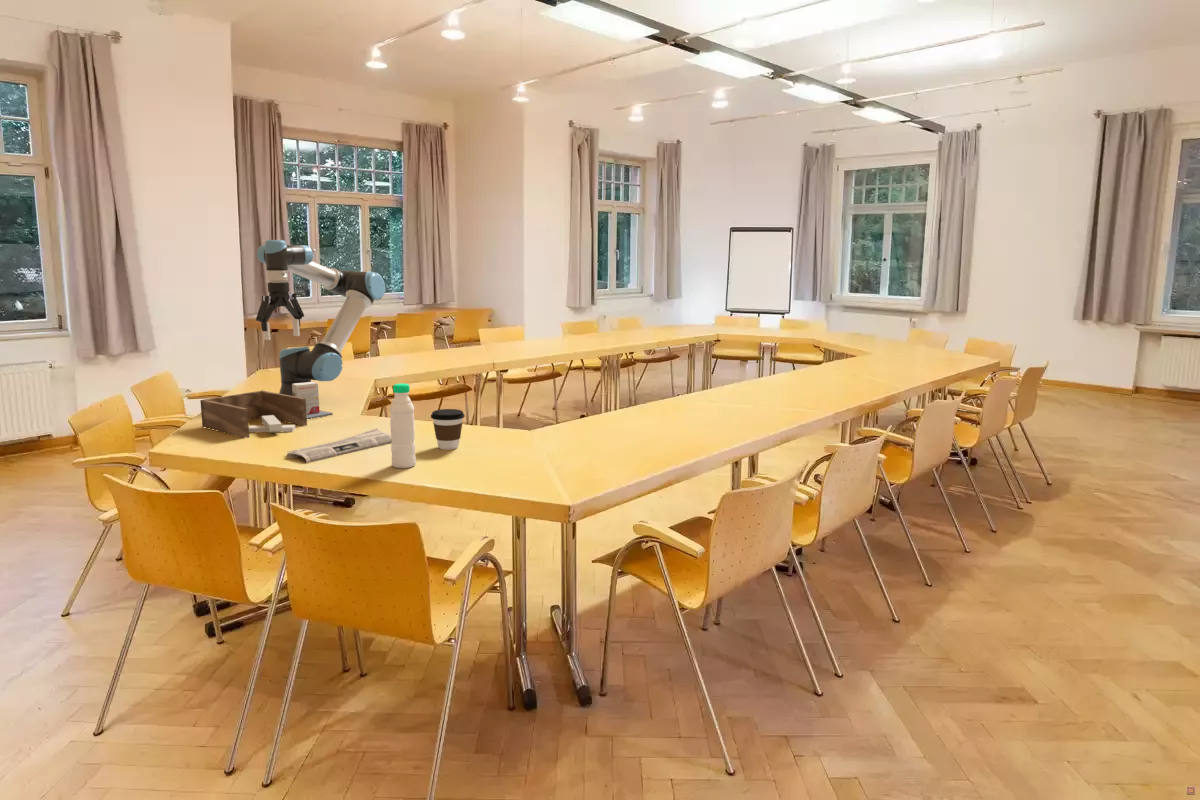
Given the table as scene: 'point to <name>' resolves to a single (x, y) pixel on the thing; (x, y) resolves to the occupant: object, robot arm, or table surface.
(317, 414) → the grey mat
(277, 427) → the upper offcut
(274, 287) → the robot arm
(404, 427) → the water bottle
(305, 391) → the ink box
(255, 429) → the lower offcut
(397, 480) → the table surface
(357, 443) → the newspaper
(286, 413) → the walnut open-sided box
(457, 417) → the coffee cup
